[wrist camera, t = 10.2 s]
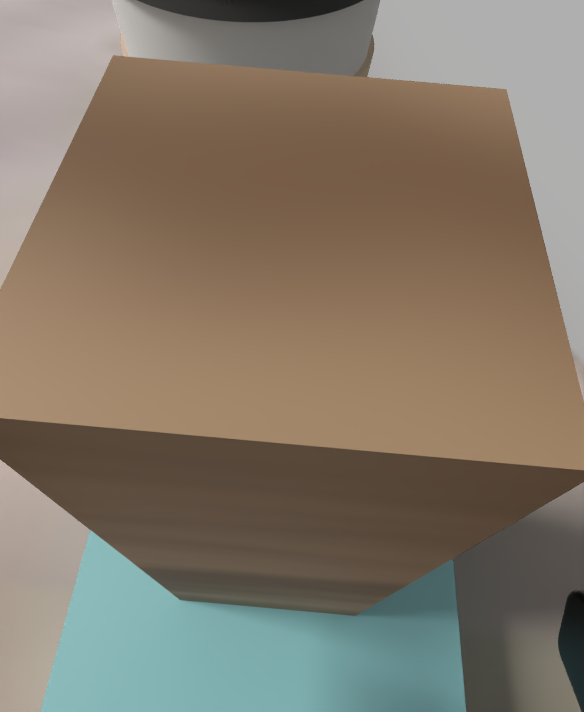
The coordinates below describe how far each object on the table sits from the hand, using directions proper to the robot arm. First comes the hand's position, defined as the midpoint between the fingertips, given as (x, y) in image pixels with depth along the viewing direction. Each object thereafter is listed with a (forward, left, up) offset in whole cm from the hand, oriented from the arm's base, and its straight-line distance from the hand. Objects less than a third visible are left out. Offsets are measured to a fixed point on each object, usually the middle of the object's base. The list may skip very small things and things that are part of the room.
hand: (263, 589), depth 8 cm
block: (+1, +3, -8) cm, 8 cm away
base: (+1, +3, -11) cm, 11 cm away
